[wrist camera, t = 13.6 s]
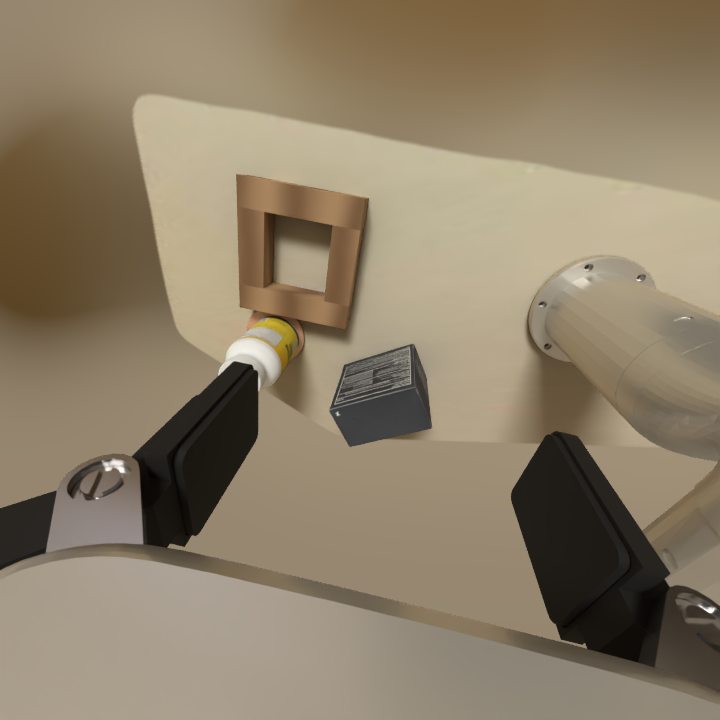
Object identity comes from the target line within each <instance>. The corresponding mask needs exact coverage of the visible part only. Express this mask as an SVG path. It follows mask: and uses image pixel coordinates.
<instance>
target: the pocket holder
mask: <svg viewBox="0 0 720 720" xmlns="http://www.w3.org/2000/svg"><path fill="white" fill-rule="evenodd" d="M236 181H237V217H238V254H239V291H240V307H242V308H246V309H251V310H256V311H261V312H265V313H270V314H275V315H280V316H284V317H289V318H294V319H299V320H303V321H308V322H313V323H318V324H322V325H327V326H332V327H337V328H341V329H345V328H346V326H347V324H348V322H349V319H350V312H351V306H352V300H353V294H354V287H355V281H356V275H357V268H358V262H359V256H360V249H361V243H362V237H363V231H364V224H365V218H366V212H367V205H368V199H369V198H364V197H359V196H354V195H349V194H343V193H338V192H333V191H328V190H323V189H317V188H312V187H307V186H302V185H297V184H291V183H286V182H281V181H276V180H271V179H265V178H260V177H255V176H250V175H238V174H236ZM275 214H278V215H283V216H288V217H293V218H299V219H304V220H309V221H314V222H319V223H324V224H329V225H333V226H332V235H331V244H330V253H329V262H328V271H327V280H326V289H325V293H322V292H318V291H313V290H308V289H303V288H298V287H293V286H288V285H284V284H279V283H274V282H273V257H274V219H275Z"/></svg>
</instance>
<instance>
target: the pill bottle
mask: <svg viewBox="0 0 720 720" xmlns="http://www.w3.org/2000/svg"><path fill="white" fill-rule="evenodd" d="M298 347H299V335H298V332H297V330H296V328H295V327H294V326H293V325H292V323H290V322H289V321H288V320H286V319H284V318H282V317H279V316H267V317H264V318H262V319H260V320H259V321H258V322H257V323H256V324H255V325H253V326H252V327H251V328H250V329H249V330H248V331H247V332H246V333H244V334H243V335H242V336H241V337H240V338H239V339H237V340H236V341H235V342H234V343H233V344H232V345H231V346H230V347H229V349H228V351H227V353H226V359H225V363H224V364H223V365H222V366H221V368H220V370H219V374H218V376H219V375H220V374H221V373H222V372H223V371H224V370H225V369H226V368H227V367H228V366H229V365H230V364H231V363H232V362H234V361H237V362H242V363H246V364H251V365H253V368H254V370H257V371H258V392H259V391H260V390H261V389H264V388H267V387H269V386H271V385H273V384H274V383H275V382H276V381H277V379H278V378H279V377H280V375H281V373H282V372H283V370H284V369H285V367H286V366H287V365H288V363H289V362H290V360H291V359H292V357H293V356H294V354H295V353H296V351H297V349H298Z"/></svg>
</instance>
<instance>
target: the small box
mask: <svg viewBox="0 0 720 720" xmlns="http://www.w3.org/2000/svg"><path fill="white" fill-rule="evenodd" d="M329 412H330V414H331V415H332V417H333V419H334V421H335V422H336V424H337V426H338V428H339V429H340V431H341V433H342V435H343V436H344V438H345V440H346V442H347V443H348V445H349V446H350V447H351V446H356V445H361V444H365V443H369V442H373V441H377V440H382V439H387V438H391V437H395V436H400V435H404V434H409V433H413V432H418V431H422V430H427V429H431V428H432V424H431V416H430V407H429V397H428V388H427V378H426V375H425V373H424V370H423V367H422V364H421V362H420V359H419V356H418V353H417V351H416V348H415V346H414V344H411V345H408V346H404V347H401V348H398V349H394V350H391V351H388V352H385V353H381V354H378V355H375V356H372V357H368V358H365V359H362V360H359V361H355V362H352V363H349V364H346V365H344V367H343V371H342V375H341V378H340V381H339V384H338V387H337V390H336V393H335V395H334V398H333V402H332V405H331V407H330V409H329Z"/></svg>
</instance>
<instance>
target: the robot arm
mask: <svg viewBox="0 0 720 720" xmlns="http://www.w3.org/2000/svg"><path fill="white" fill-rule="evenodd" d="M586 265H587V267H586V268H584V267H585V266H586ZM540 302H542V303H541V304H539V303H540ZM528 324H529V331H530V334H531V336H532V338H533V340H534V342H535V343H536V344H537V346H538V347H539V348H540V349H541V350H542V351H543V352H544V353H546V354H547V355H549V356H550V357H552V358H555V359H557V360H559V361H564V362H569V363H573V364H574V365H575V366H576V367H577V368H578V369H579V370H580V371H581V372H582V374H583V375H584V376H585V377H586V378H587V379H588V380H589V381H590V382H591V383H592V384H593V385H594V387H595V388H596V389H597V390H598V391H599V392H600V393H601V394H602V395H603V396H604V397H605V398H606V400H607V401H608V402H609V403H610V404H611V405H612V406H613V407H614V408H615V409H616V410H617V411H618V412H619V413H620V414H621V415H622V416H623V417H624V418H625V420H626V421H627V422H628V423H629V424H630V425H631V426H632V427H633V428H634V429H635V430H636V431H637V432H638V433H639V434H641V435H642V436H643V437H645V438H646V439H648V440H649V441H651V442H652V443H654V444H656V445H658V446H660V447H662V448H664V449H667V450H669V451H672V452H675V453H679V454H683V455H686V456H690V457H695V458H700V459H705V460H711V461H717V462H718V463H717V464H716V466H715V467H714V469H713V470H712V471H711V472H709V473H708V474H707V475H706V476H705V477H704V478H703V479H702V480H701V481H700V482H698V483H697V484H696V485H695V487H694V489H693V490H692V491H690V492H689V493H688V494H687V495H685V496H684V497H683V498H682V499H680V500H679V501H678V502H677V503H676V504H674V505H673V506H672V507H671V508H670V509H668V510H667V511H666V512H665V513H663V514H662V515H661V516H660V517H658V518H657V519H656V520H655V521H654V522H652V523H651V524H650V525H649V526H647V527H646V528H645V529H644V530H641V529H640V528H639V526H638V525H637V523H636V522H635V520H634V519H633V517H632V516H631V514H630V513H629V511H628V510H627V508H626V507H625V505H624V504H623V503H622V501H621V499H620V498H619V497H618V495H617V494H616V492H615V491H614V489H613V488H612V486H611V485H610V483H609V482H608V480H607V479H606V478H605V476H604V474H603V473H602V471H601V470H600V468H599V467H598V466H597V464H596V462H595V461H594V460H593V458H592V457H591V455H590V454H589V452H588V451H587V449H586V448H585V446H584V445H583V443H582V442H581V440H580V439H579V438H578V437H577V436H575V435H571V434H567V433H562V432H558V431H556V432H553V433H552V434H551V435H546V436H545V438H544V439H543V441H542V443H541V444H540V446H539V447H538V449H537V451H536V452H535V454H534V456H533V457H532V459H531V460H530V462H529V464H528V466H527V467H526V469H525V470H524V472H523V474H522V475H521V477H520V478H519V480H518V482H517V483H516V485H515V487H514V488H513V490H512V493H511V501H512V504H513V507H514V510H515V514H516V516H517V520H518V522H519V526H520V529H521V532H522V535H523V538H524V541H525V544H526V547H527V551H528V554H529V557H530V559H531V563H532V566H533V569H534V572H535V575H536V578H537V581H538V584H539V588H540V591H541V594H542V597H543V600H544V603H545V606H546V609H547V612H548V615H549V618H550V619H551V621H552V622H553V623H555V624H556V626H557V629H558V632H559V635H560V638H561V640H565V641H569V642H573V643H578V644H582V645H583V644H584V643H585V644H586V646H587V649H585V648H582V647H578V646H574V645H570V644H566V643H563V642H559V641H555V640H550V639H547V638H543V637H538V636H534V635H531V634H527V633H523V632H519V631H515V630H511V629H507V628H503V627H499V626H495V625H491V624H487V623H483V622H479V621H475V620H471V619H467V618H463V617H459V616H455V615H451V614H447V613H443V612H439V611H435V610H431V609H426V608H423V607H419V606H415V605H410V604H407V603H402V602H399V601H394V600H390V599H386V598H382V597H378V596H374V595H370V594H366V593H361V592H358V591H354V590H350V589H346V588H341V587H337V586H333V585H329V584H325V583H321V582H317V581H312V580H308V579H304V578H300V577H296V576H292V575H287V574H283V573H279V572H275V571H271V570H267V569H262V568H258V567H254V566H250V565H246V564H241V563H237V562H232V561H227V560H223V559H219V558H214V557H209V556H205V555H200V554H196V553H191V552H186V551H182V550H176V549H170V548H167V547H168V546H169V544H170V543H171V544H175V545H179V546H183V547H185V545H186V544H187V542H188V541H189V539H190V537H191V536H192V535H194V536H196V535H198V534H199V533H200V531H201V530H202V528H203V527H204V525H205V523H206V521H207V520H208V518H209V517H210V515H211V514H212V512H213V510H214V509H215V507H216V505H217V504H218V502H219V500H220V499H221V497H222V496H223V494H224V492H225V491H226V489H227V487H228V486H229V484H230V482H231V481H232V479H233V478H234V476H235V474H236V473H237V471H238V469H239V468H240V466H241V464H242V463H243V461H244V460H245V458H246V456H247V455H248V453H249V451H250V450H251V448H252V447H253V445H254V443H255V441H256V439H257V436H258V371H257V370H254V368H253V365H251V364H246V363H242V362H237V361H234V362H232V363H231V364H230V365H229V366H228V367H227V368H226V369H225V370H224V371H223V372H222V373H221V374H220V375H219V376H218V377H217V378H216V379H215V380H214V381H213V382H212V383H211V384H210V385H209V386H208V387H207V388H206V389H204V390H203V392H202V393H201V394H199V395H196V396H195V397H193V398H192V399H191V400H190V401H189V402H188V403H187V404H186V405H185V406H184V407H183V408H182V409H181V410H180V411H178V412H177V413H176V414H175V415H174V416H173V417H172V418H171V419H170V420H169V421H168V422H167V423H166V424H165V425H164V426H163V427H162V428H161V429H160V430H159V431H158V432H157V433H156V434H155V435H154V436H152V438H150V440H148V441H147V442H146V443H145V444H144V445H143V446H142V447H141V448H140V449H139V450H138V451H137V452H136V453H135V454H134V455H133V456H132V457H131V456H128V455H124V454H109V455H102V456H99V457H96V458H93V459H90V460H88V461H86V462H84V463H82V464H80V465H78V466H77V467H75V468H74V469H73V470H71V471H70V472H69V473H68V474H67V475H66V476H65V477H64V478H63V480H62V481H61V482H60V485H59V487H58V489H57V491H54V492H50V493H47V494H44V495H41V496H38V497H35V498H31V499H28V500H25V501H22V502H19V503H16V504H13V505H9V506H7V507H3V508H0V720H720V315H718V314H715V313H713V312H710V311H708V310H705V309H703V308H700V307H698V306H696V305H693V304H691V303H688V302H686V301H683V300H681V299H678V298H676V297H674V296H671V295H669V294H666V293H664V292H661V291H659V290H656V286H655V282H654V281H653V279H652V277H651V275H650V274H649V273H648V272H647V271H646V270H645V269H644V268H643V267H642V266H640V265H639V264H637V263H635V262H634V261H631V260H628V259H625V258H621V257H615V256H597V257H591V258H586V259H583V260H580V261H577V262H575V263H573V264H571V265H569V266H567V267H565V268H563V269H562V270H560V271H559V272H557V273H556V274H555V275H553V276H552V277H551V278H550V279H549V280H548V281H547V282H546V283H545V284H544V285H543V286H542V288H541V289H540V290H539V292H538V293H537V295H536V297H535V299H534V300H533V302H532V305H531V308H530V312H529V320H528ZM545 344H546V345H545Z"/></svg>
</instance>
